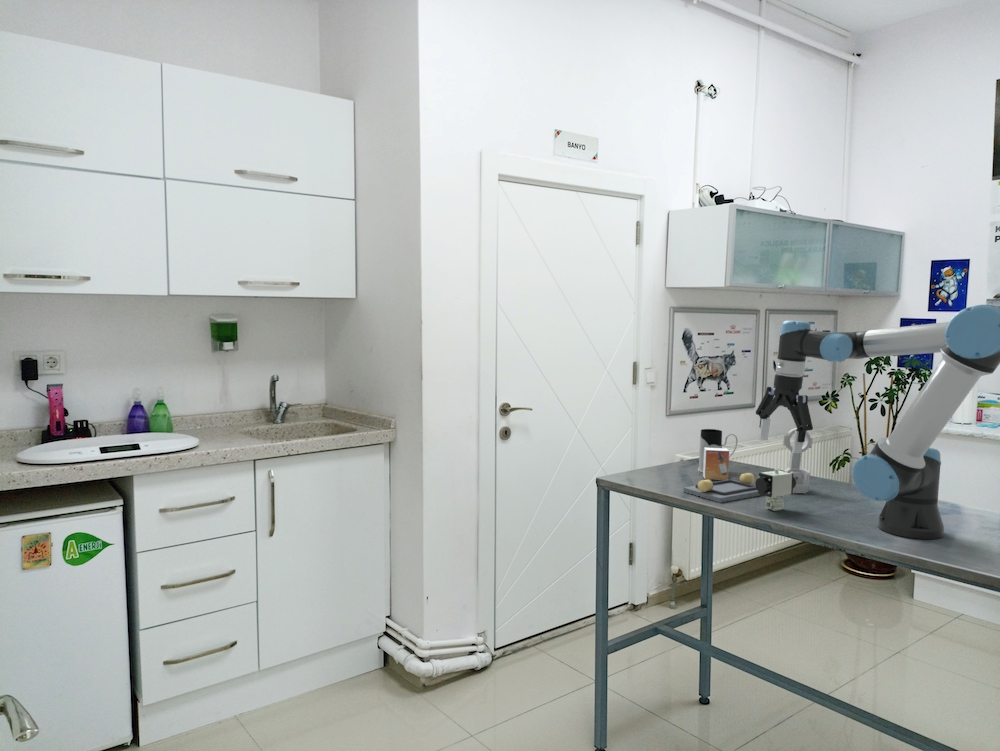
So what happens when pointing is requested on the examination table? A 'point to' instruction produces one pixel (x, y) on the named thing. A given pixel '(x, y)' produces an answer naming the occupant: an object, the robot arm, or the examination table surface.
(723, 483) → the mounting plate
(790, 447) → the engine component
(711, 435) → the glass holder
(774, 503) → the pneumatic valve
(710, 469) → the small box
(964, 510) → the examination table surface
